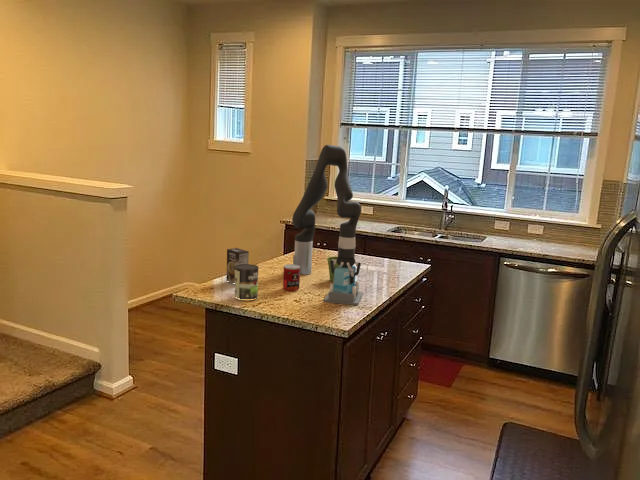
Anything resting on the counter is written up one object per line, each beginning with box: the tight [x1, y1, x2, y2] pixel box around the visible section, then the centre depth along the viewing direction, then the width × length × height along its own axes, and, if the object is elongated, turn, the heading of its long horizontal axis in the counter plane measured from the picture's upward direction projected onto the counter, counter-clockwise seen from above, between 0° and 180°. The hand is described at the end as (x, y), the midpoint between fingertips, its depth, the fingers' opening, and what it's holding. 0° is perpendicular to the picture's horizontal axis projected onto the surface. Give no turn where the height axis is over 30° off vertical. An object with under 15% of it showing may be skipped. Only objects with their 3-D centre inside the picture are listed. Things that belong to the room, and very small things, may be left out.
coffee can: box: [234, 263, 259, 299], centre depth 241 cm, size 10×10×14 cm
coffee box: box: [225, 247, 250, 284], centre depth 264 cm, size 9×6×16 cm
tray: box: [323, 280, 364, 306], centre depth 249 cm, size 15×18×7 cm
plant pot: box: [326, 256, 339, 283], centre depth 278 cm, size 12×12×11 cm
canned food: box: [282, 263, 301, 292], centre depth 259 cm, size 8×8×11 cm
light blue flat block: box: [333, 265, 357, 294], centre depth 248 cm, size 12×4×12 cm, turn 149°
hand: (344, 283), depth 248 cm, fingers closed on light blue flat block, 5 cm apart
